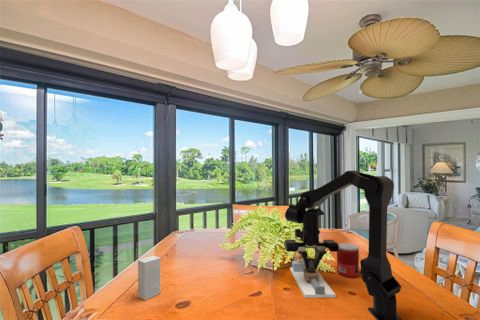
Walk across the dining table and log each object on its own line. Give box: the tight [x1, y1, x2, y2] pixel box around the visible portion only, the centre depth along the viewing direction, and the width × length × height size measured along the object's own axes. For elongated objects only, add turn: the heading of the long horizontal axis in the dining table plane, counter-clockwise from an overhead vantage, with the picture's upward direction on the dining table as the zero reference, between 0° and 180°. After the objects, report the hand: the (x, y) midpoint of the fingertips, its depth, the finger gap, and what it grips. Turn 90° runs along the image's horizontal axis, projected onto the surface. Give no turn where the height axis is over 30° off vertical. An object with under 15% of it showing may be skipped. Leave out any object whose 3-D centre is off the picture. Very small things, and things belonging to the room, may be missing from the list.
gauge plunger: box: [295, 252, 303, 260], centre depth 105 cm, size 2×2×2 cm
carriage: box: [303, 257, 320, 283], centre depth 95 cm, size 5×4×8 cm
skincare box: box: [137, 255, 162, 301], centre depth 87 cm, size 6×4×12 cm
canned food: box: [336, 243, 360, 279], centre depth 104 cm, size 8×8×11 cm
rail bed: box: [289, 260, 337, 299], centre depth 96 cm, size 23×10×4 cm, turn 1°
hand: (311, 269), depth 95 cm, fingers closed on carriage, 3 cm apart
